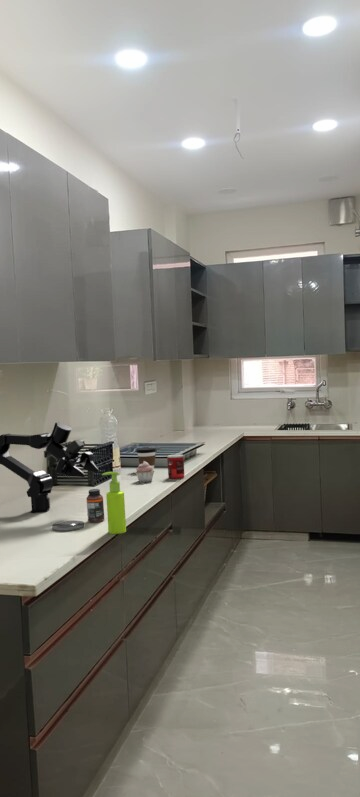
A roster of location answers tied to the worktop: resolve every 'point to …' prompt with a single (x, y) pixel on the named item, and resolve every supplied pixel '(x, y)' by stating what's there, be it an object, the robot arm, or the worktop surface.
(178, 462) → the canned food
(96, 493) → the supplement bottle
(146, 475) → the cupcake
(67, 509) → the worktop surface
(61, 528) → the dark gray plate
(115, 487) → the soap dispenser
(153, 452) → the coffee cup
